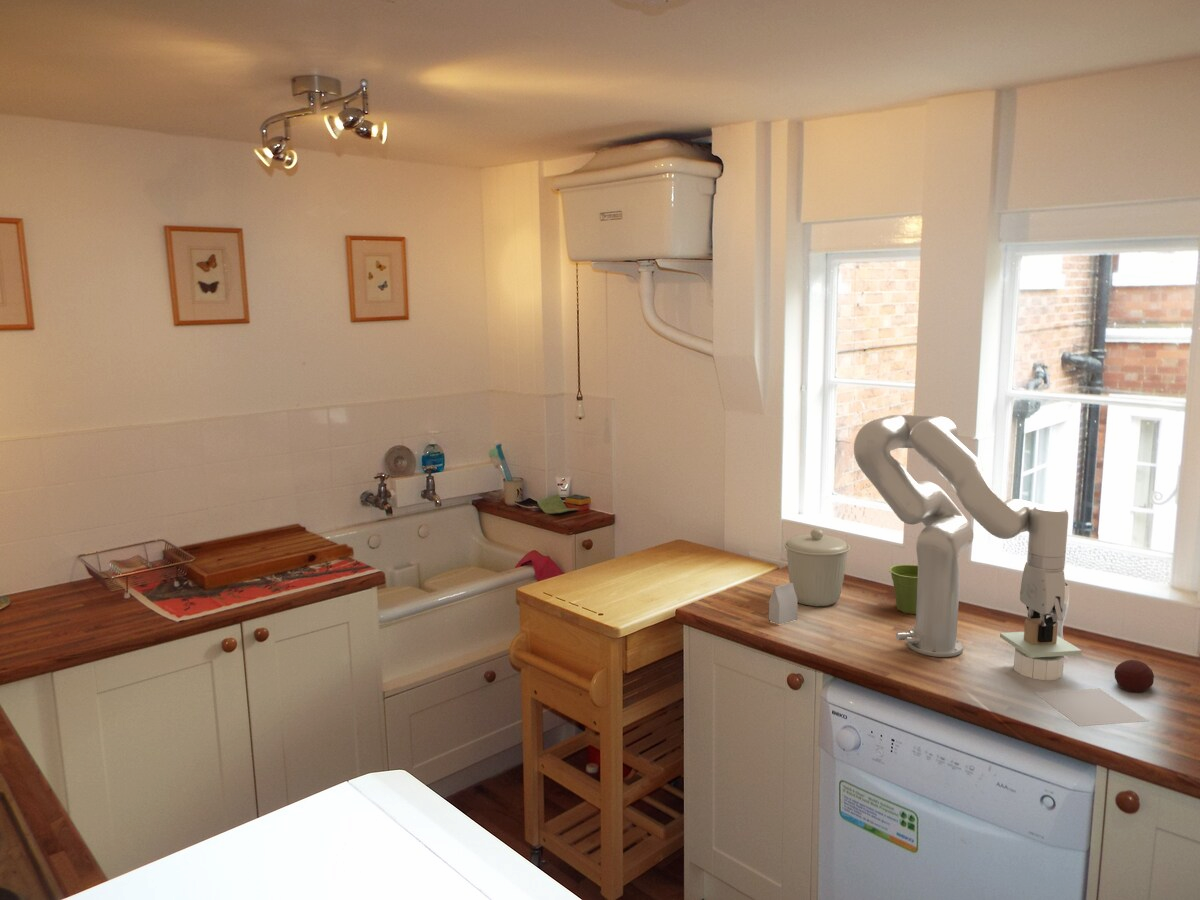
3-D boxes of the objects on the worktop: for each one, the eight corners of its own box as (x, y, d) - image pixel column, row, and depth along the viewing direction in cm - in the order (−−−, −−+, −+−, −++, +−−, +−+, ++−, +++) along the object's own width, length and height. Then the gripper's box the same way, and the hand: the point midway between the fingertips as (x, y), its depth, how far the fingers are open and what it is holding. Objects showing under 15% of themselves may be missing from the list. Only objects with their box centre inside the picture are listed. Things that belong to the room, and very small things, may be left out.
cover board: (1030, 657, 193) (1032, 631, 192) (999, 637, 205) (1001, 612, 204) (1081, 654, 194) (1083, 628, 193) (1048, 634, 206) (1050, 609, 205)
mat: (1078, 728, 175) (1079, 725, 175) (1034, 694, 190) (1034, 692, 190) (1148, 723, 177) (1148, 720, 176) (1099, 690, 191) (1099, 688, 191)
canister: (856, 596, 253) (858, 525, 249) (836, 616, 238) (839, 540, 234) (795, 586, 262) (797, 518, 259) (773, 604, 247) (774, 532, 244)
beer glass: (1069, 647, 215) (1074, 588, 212) (1038, 645, 216) (1042, 586, 214) (1060, 636, 222) (1065, 579, 219) (1030, 634, 223) (1034, 577, 220)
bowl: (1030, 683, 195) (1031, 661, 195) (1005, 664, 205) (1006, 644, 204) (1071, 680, 196) (1073, 659, 196) (1044, 662, 206) (1046, 642, 205)
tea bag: (796, 620, 235) (797, 584, 234) (778, 626, 232) (779, 589, 230) (786, 616, 238) (787, 581, 237) (768, 621, 235) (769, 586, 233)
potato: (1107, 690, 191) (1109, 664, 190) (1122, 676, 198) (1124, 650, 197) (1145, 701, 186) (1148, 674, 185) (1159, 686, 193) (1161, 660, 192)
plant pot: (922, 601, 248) (924, 563, 246) (940, 616, 236) (942, 576, 234) (881, 602, 247) (882, 564, 246) (896, 618, 236) (898, 577, 234)
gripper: (1009, 551, 204) (1004, 626, 207) (1052, 572, 188) (1046, 653, 191) (1039, 549, 205) (1034, 624, 208) (1085, 571, 189) (1078, 651, 192)
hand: (1039, 637), depth 199 cm, fingers closed on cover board, 3 cm apart
